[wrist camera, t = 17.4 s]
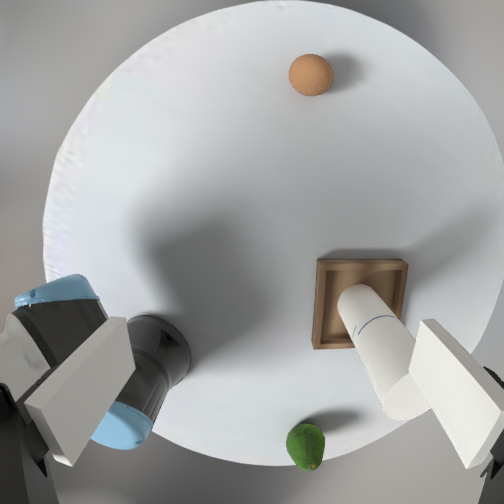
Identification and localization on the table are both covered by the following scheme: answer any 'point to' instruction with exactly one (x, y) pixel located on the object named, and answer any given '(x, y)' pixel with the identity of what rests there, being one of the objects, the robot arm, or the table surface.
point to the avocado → (306, 446)
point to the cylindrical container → (383, 351)
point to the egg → (311, 75)
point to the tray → (342, 277)
